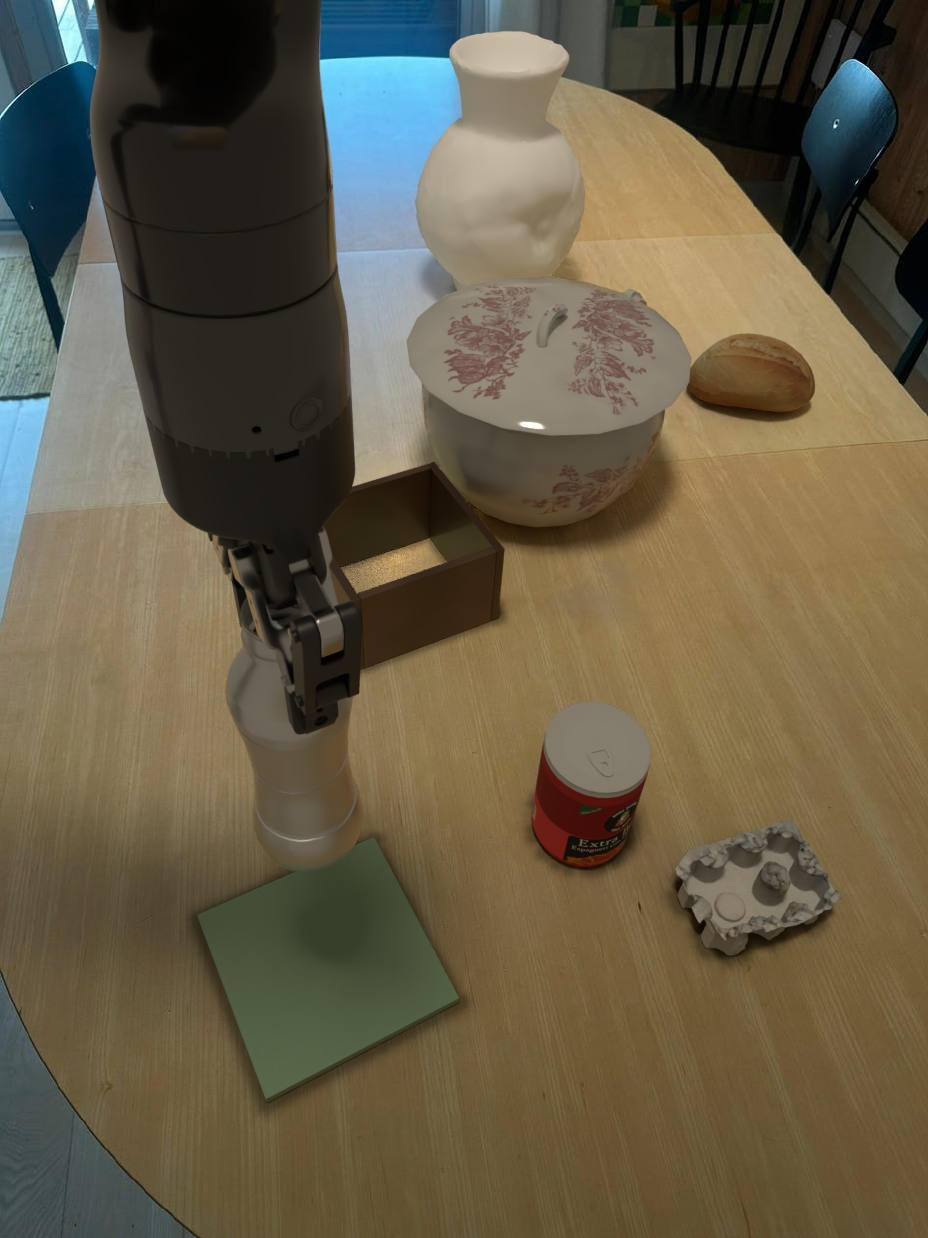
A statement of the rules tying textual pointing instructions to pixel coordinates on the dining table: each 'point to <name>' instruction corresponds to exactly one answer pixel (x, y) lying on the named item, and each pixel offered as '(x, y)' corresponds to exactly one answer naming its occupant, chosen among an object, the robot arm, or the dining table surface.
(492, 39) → the vase
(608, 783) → the canned food
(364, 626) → the crate
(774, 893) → the egg carton
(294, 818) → the plastic bottle
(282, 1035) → the mat
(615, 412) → the chamber pot
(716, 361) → the bread roll
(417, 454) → the dining table surface
